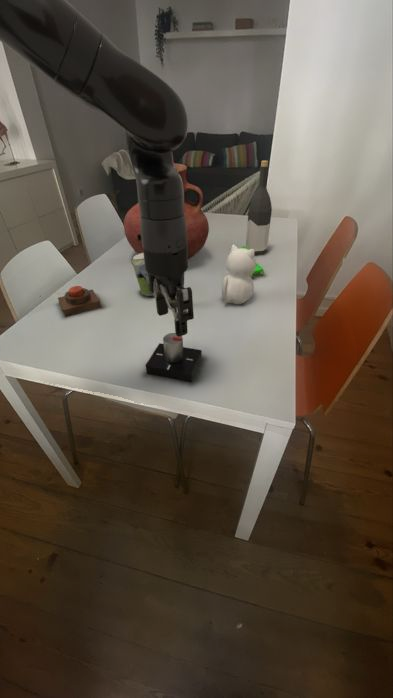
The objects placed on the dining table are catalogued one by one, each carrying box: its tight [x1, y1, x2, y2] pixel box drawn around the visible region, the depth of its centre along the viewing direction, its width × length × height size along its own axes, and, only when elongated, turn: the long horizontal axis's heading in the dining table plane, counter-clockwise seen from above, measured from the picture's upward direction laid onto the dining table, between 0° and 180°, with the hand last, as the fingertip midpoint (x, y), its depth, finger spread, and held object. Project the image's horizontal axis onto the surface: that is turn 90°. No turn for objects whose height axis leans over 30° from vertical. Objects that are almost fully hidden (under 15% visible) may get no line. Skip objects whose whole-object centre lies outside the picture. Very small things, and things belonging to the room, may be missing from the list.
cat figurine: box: [221, 243, 257, 305], centre depth 87 cm, size 9×12×15 cm
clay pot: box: [123, 162, 210, 260], centre depth 109 cm, size 30×29×30 cm
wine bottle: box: [245, 160, 273, 256], centre depth 112 cm, size 8×8×30 cm
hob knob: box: [162, 332, 184, 363], centre depth 66 cm, size 4×4×5 cm
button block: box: [57, 287, 102, 318], centre depth 90 cm, size 10×8×4 cm
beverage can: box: [131, 253, 154, 297], centre depth 93 cm, size 6×7×12 cm
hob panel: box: [145, 342, 203, 383], centre depth 69 cm, size 10×8×3 cm
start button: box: [68, 285, 84, 297], centre depth 88 cm, size 4×4×2 cm
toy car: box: [237, 246, 265, 278], centre depth 105 cm, size 11×7×7 cm, turn 28°
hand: (171, 323), depth 63 cm, fingers open, 8 cm apart
